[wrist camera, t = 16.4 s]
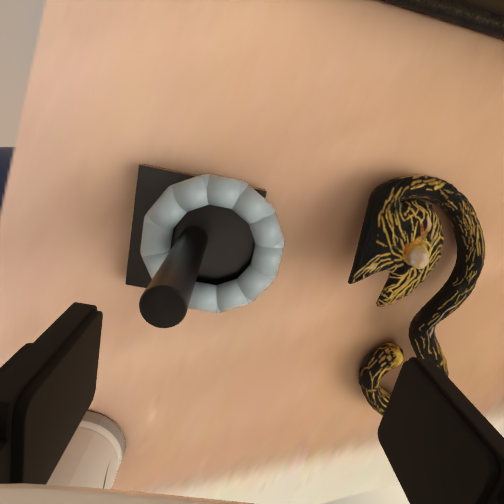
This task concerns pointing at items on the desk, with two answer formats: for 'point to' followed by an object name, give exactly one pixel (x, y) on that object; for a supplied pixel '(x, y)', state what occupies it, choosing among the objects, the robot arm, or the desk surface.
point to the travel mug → (91, 454)
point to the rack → (185, 250)
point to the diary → (462, 13)
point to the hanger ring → (228, 196)
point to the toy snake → (415, 265)
